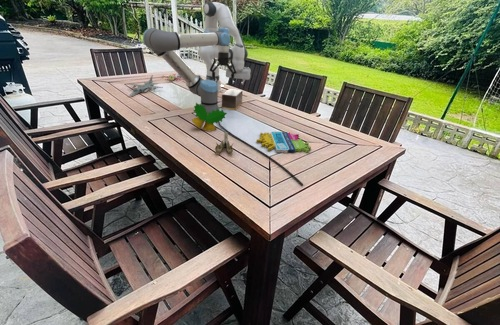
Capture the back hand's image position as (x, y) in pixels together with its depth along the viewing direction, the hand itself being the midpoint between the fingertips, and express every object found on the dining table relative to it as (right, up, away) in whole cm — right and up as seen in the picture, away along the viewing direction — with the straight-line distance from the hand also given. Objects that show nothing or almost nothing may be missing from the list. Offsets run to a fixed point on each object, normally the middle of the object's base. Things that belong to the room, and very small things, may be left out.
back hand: (237, 84), depth 216 cm
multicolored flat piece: (+29, -54, -63) cm, 88 cm away
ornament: (-15, -44, -51) cm, 69 cm away
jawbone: (-3, -59, -77) cm, 97 cm away
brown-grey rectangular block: (-4, -19, -6) cm, 20 cm away
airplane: (-83, -2, +14) cm, 84 cm away
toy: (-69, +25, +65) cm, 98 cm away
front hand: (-10, -4, -17) cm, 20 cm away
